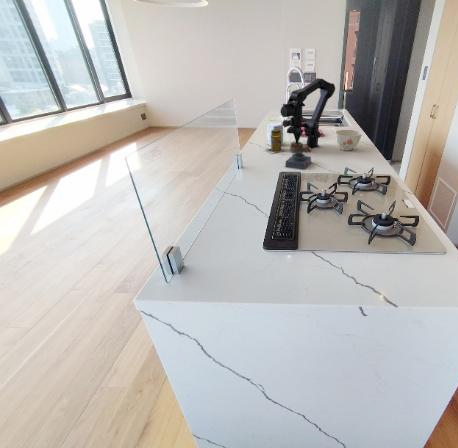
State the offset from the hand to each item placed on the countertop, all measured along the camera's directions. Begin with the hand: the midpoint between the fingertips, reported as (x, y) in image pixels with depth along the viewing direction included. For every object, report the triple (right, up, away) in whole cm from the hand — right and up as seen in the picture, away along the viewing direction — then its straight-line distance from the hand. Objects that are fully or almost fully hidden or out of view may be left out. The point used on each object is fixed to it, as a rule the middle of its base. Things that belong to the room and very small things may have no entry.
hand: (297, 142), depth 171 cm
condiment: (-14, -5, +2) cm, 14 cm away
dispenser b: (+2, -4, +3) cm, 5 cm away
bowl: (+31, -2, +7) cm, 32 cm away
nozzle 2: (+1, -13, -21) cm, 25 cm away
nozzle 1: (0, -2, +1) cm, 2 cm away
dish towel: (+9, +19, +41) cm, 46 cm away
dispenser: (+1, -17, -19) cm, 26 cm away
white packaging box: (-14, +2, +13) cm, 19 cm away
